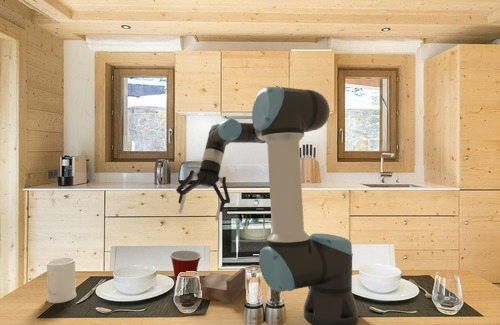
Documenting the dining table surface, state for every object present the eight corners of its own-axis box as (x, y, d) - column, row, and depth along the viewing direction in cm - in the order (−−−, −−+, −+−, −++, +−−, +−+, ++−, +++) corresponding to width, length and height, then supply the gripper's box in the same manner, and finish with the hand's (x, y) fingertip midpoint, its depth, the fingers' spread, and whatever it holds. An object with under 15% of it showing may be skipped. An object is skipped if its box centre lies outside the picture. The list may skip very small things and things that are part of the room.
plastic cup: (199, 294, 120) (199, 258, 120) (166, 293, 120) (166, 258, 120) (204, 282, 131) (203, 249, 131) (174, 282, 131) (173, 249, 131)
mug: (58, 308, 109) (58, 269, 109) (32, 307, 110) (32, 268, 110) (81, 293, 121) (81, 257, 121) (58, 292, 122) (57, 256, 122)
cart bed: (245, 288, 125) (245, 268, 125) (230, 303, 113) (230, 280, 113) (211, 283, 129) (211, 264, 129) (193, 297, 117) (193, 276, 117)
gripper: (242, 172, 143) (231, 225, 135) (181, 159, 143) (166, 211, 136) (243, 166, 136) (231, 221, 128) (178, 152, 136) (163, 206, 129)
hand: (198, 216), depth 132 cm, fingers open, 13 cm apart
